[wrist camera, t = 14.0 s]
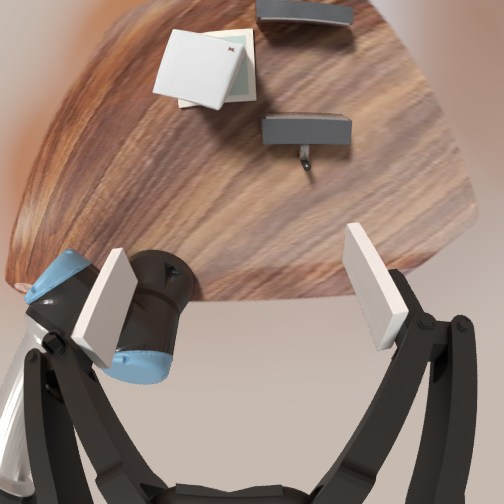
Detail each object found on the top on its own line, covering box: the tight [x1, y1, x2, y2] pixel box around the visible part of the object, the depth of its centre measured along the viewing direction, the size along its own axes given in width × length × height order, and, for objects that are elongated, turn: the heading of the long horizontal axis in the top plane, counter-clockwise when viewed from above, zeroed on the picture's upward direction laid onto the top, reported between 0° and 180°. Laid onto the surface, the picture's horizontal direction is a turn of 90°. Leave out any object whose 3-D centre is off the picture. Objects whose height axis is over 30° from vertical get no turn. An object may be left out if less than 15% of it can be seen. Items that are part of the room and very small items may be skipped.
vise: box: [255, 0, 353, 171], centre depth 31 cm, size 12×24×5 cm, turn 3°
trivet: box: [178, 29, 256, 108], centre depth 32 cm, size 11×11×1 cm
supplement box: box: [153, 29, 246, 110], centre depth 26 cm, size 7×7×13 cm
